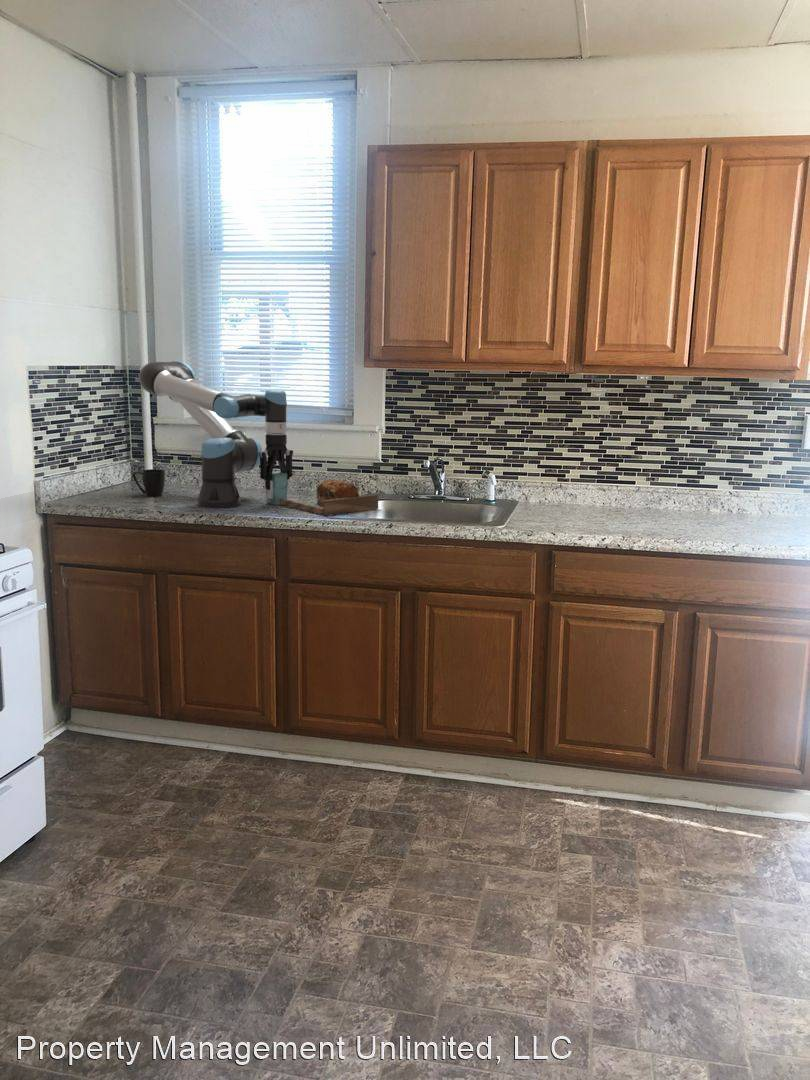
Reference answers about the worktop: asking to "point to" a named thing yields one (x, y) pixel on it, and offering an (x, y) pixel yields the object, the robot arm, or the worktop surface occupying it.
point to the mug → (152, 482)
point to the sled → (328, 505)
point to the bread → (335, 490)
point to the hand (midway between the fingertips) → (276, 497)
